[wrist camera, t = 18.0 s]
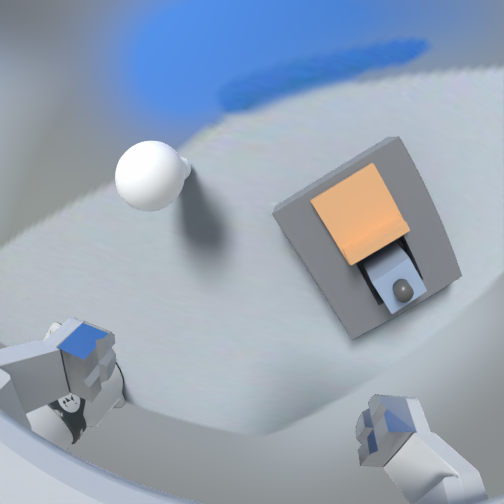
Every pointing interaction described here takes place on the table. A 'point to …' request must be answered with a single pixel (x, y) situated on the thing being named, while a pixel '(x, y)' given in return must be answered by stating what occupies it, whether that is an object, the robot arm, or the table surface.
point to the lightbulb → (151, 175)
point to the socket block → (355, 276)
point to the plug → (394, 276)
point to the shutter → (360, 214)
